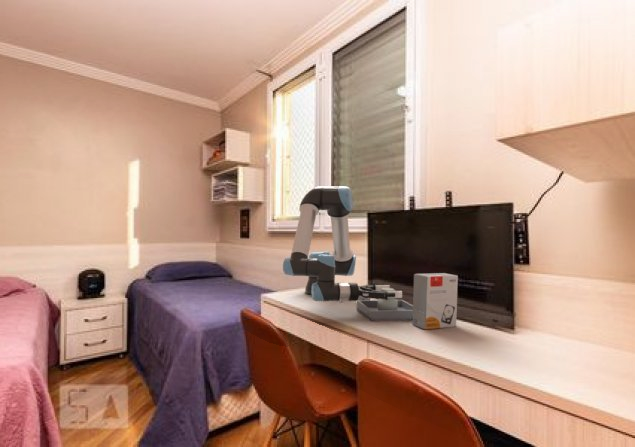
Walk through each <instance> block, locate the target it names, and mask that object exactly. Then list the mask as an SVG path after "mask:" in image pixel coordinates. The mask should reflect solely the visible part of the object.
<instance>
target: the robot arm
mask: <svg viewBox="0 0 635 447" xmlns="http://www.w3.org/2000/svg"><path fill="white" fill-rule="evenodd" d="M353 209H354V198H353V193H352V190H351V188H350V187H348V186H342V185H340V186H315V187H314V188H312V189H311V190H309V191H308V192H307V193H306V194H305V195H304V197H303V198H302V200H301V202H300V204H299V208H298V210H299V212H300V213H299V219H298V223H297V226H296V231H295V235H294V239H293V245H292V248H291V254H290V256H289V257H285V258H284V260H283V262H282V271H283V272H284V273H283V274H284V275H286V276H290V277H291V276H293V277H295V276H297V277H299V276H300V277H308V279H307V283H306V286H305V288H304V293H305V294H306V295H311V299H312V300H313V301H314V302H324V303H325V302H340V303H343V302H345V301H349V302H353V301H354V302H357V301H358V297H359V296H362V297H363V298H371V299H377V300H378V299H386V300H388V298H395V299H402V298H403V291H402V290H395V291H387V292H384V291H381V289H382V288H391V285H389V284H388V285H387V284H384V285H383V284H382V285H381V284H379V285H376V283H372V284H366V285H359V284H358V283H357V282H335V280H336V276H342V277H347V276H348V277H349V276H350V277H352V276H353V275H354V274H355V270H356V260H357V255H356V254H354V253H353V250H351V246H350V234H349V233H350V232H349V219H348V216H349V215H350V214H351V212H352V211H353ZM320 211H326V213H327V215H328V216H329V217H330V222H331V233H332V241H333V242H332V243H333V251H332V253H331V252H330V251H328V250H325V251H317V252H311V253H310V249H311V244H312V237H313V233H314V227H315V222H316V217H317V216H318V215H319V214H320V213H319V212H320ZM384 294H385V296H384Z"/></svg>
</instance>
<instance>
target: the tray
mask: <svg viewBox="0 0 635 447" xmlns="http://www.w3.org/2000/svg"><path fill="white" fill-rule="evenodd" d="M397 300H398V308H397V310H385V311H379V310H378V309H377V303H378V299H373V300H372V299H370V300H360V301H358V300H357V301H356V310H357V311H358V312H359V313H360V314H362V315H363V316H364V317H365V318H366V319H367V320H369V321H370V322H397V321H398V322H400V321H401V322H403V321H413V304H411V303H410V302H408V301H405V300H404V299H397Z"/></svg>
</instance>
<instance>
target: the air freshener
mask: <svg viewBox="0 0 635 447" xmlns="http://www.w3.org/2000/svg"><path fill="white" fill-rule="evenodd" d="M381 291H384V292H387V291H396V290H395V289H394V288H392V287H390V288H382V289H381ZM384 296H385V294H384ZM377 300H378V303H377V309H378V310H379V311H385V310H397V308H398V300H399V299H397V298H388V300H386V299H378V298H377Z"/></svg>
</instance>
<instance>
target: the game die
mask: <svg viewBox="0 0 635 447" xmlns="http://www.w3.org/2000/svg"><path fill="white" fill-rule="evenodd" d="M360 300H372V298H363V297H362V296H359V297H358V300H357V301H360Z"/></svg>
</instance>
